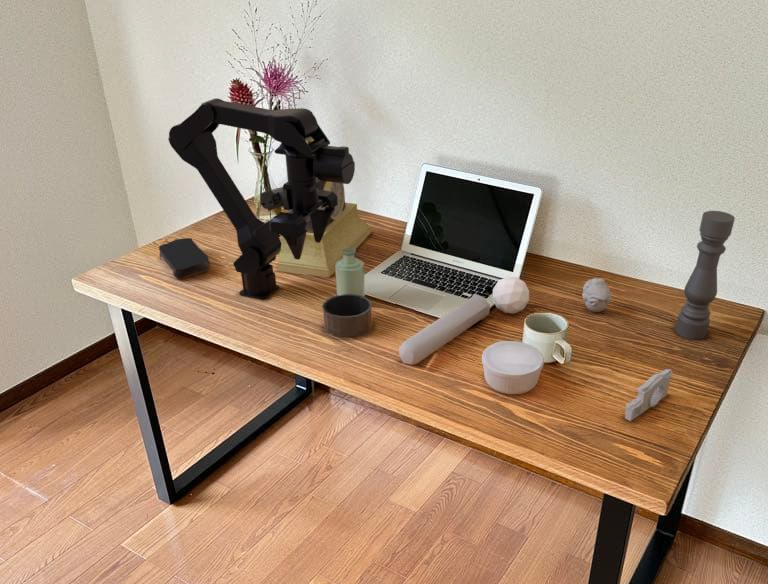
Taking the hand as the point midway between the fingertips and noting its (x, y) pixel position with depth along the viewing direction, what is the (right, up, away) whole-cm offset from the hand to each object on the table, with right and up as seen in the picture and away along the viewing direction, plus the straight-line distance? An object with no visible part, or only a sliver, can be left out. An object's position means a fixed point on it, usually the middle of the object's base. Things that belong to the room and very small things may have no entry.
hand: (307, 250), depth 151 cm
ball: (+42, -12, +5) cm, 44 cm away
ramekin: (+40, -27, -18) cm, 52 cm away
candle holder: (+79, -17, -2) cm, 81 cm away
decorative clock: (0, +4, +29) cm, 29 cm away
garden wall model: (+63, -31, -24) cm, 74 cm away
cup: (+9, -16, -3) cm, 18 cm away
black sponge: (-32, -1, +21) cm, 38 cm away
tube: (+28, -19, -6) cm, 35 cm away
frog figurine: (+61, -12, +5) cm, 62 cm away
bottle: (+8, -10, +7) cm, 15 cm away
